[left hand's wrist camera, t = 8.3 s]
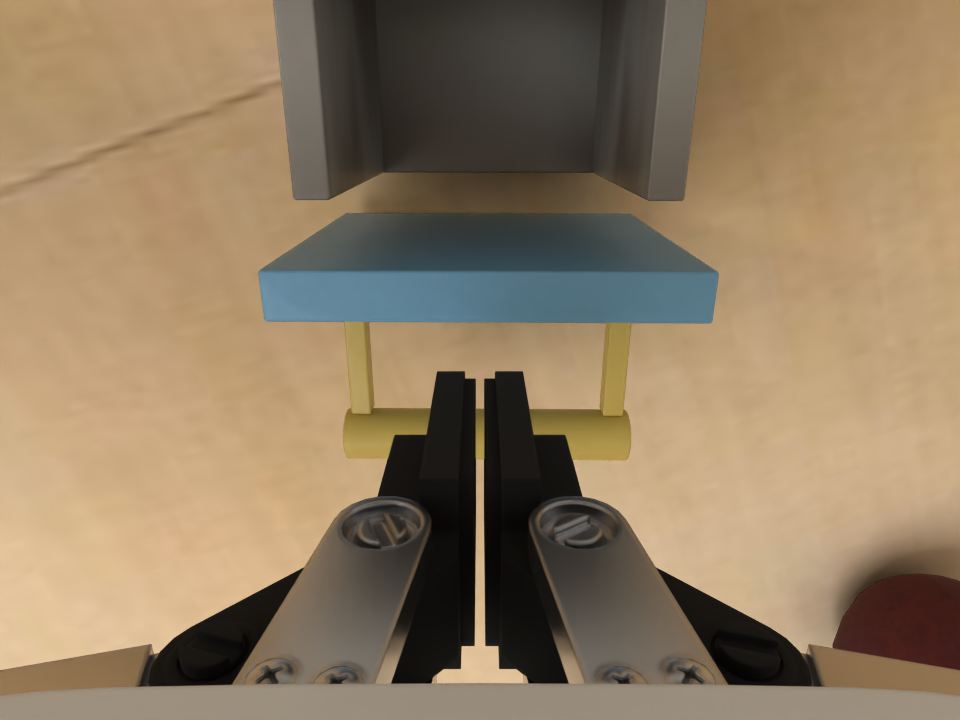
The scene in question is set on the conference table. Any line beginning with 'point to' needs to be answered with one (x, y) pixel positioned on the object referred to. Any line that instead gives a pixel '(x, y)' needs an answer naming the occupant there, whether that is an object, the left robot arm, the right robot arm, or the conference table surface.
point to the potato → (906, 621)
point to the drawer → (489, 149)
